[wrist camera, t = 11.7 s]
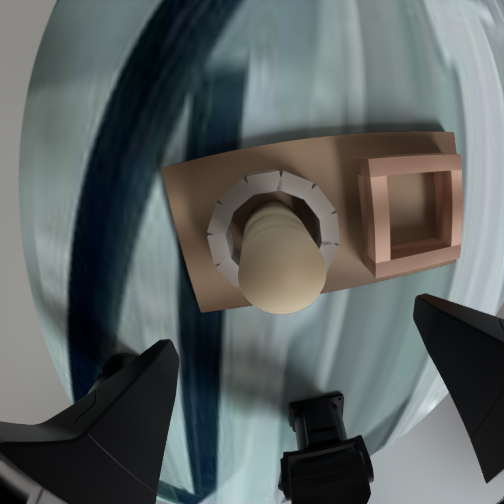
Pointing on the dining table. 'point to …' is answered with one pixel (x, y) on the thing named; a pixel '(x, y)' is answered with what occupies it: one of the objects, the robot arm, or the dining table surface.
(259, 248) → the round peg
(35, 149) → the dining table surface
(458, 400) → the robot arm
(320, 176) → the socket board
